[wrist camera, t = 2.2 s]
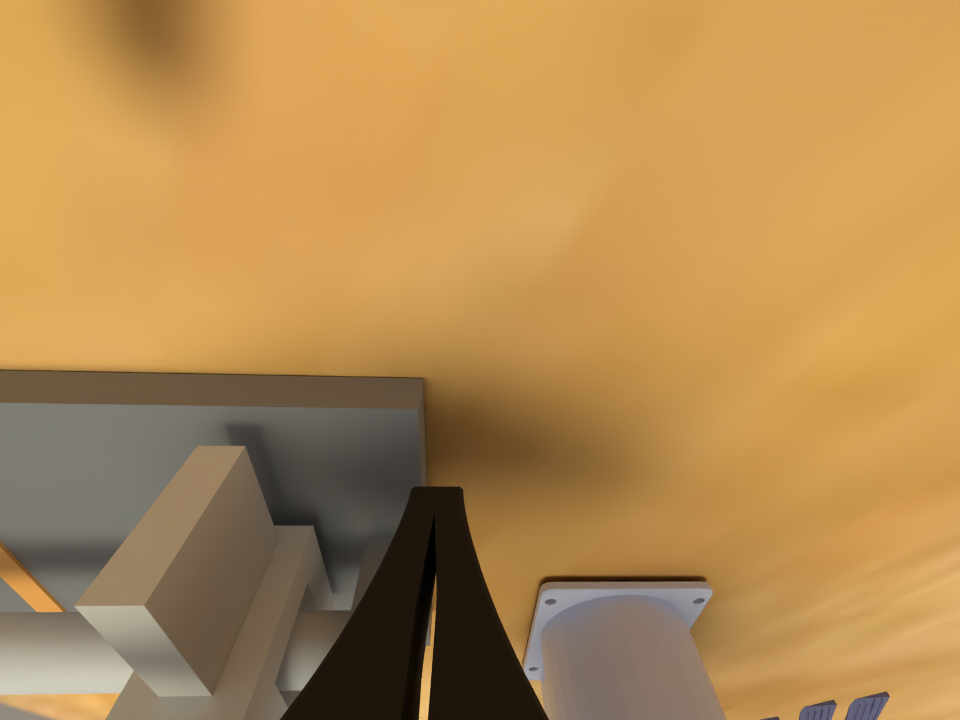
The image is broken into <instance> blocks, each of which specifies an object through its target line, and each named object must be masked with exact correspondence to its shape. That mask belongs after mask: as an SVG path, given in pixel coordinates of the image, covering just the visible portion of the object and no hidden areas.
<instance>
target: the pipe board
mask: <svg viewBox="0 0 960 720" xmlns="http://www.w3.org/2000/svg"><path fill="white" fill-rule="evenodd" d="M197 446H245V447H246V450H247V452H248V455H249V458H250V461H251V463H252V466H253V469H254V472H255V474H256V477H257V480H258V483H259V486H260V488H261V491H262V494H263V497H264V499H265V502H266V505H267V508H268V511H269V513H270V516H271V519H272V522H273V524H274V526H314V530H315V534H316V537H317V541H318V544H319V548H320V552H321V555H322V559H323V562H324V566H325V569H326V573H327V577H328V580H329V584H330V587H331V591H332V595H333V598H334V602H335V605H336V607H335V610H315V611H298V613H297V616H296V619H295V622H294V625H293V628H292V631H291V634H290V638H289V641H288V644H287V647H286V650H285V653H284V656H283V659H282V662H281V665H280V668H279V671H278V674H277V677H276V680H275V685H276V687H277V689H278V690H279V691H302V689H303V688H304V687H305V685H306V684H307V682H308V681H309V680H310V678H311V677H312V675H313V674H314V673H315V671H316V670H317V668H318V667H319V665H320V664H321V662H322V661H323V659H324V658H325V656H326V655H327V653H328V652H329V650H330V649H331V647H332V646H333V644H334V643H335V641H336V640H337V638H338V637H339V635H340V634H341V632H342V631H343V629H344V627H345V626H346V624H347V623H348V621H349V619H350V618H351V616H352V614H353V613H354V611H355V609H356V608H357V606H358V604H359V603H360V601H361V599H362V597H363V596H364V594H365V592H366V590H367V588H368V586H369V585H370V583H371V581H372V579H373V577H374V575H375V574H376V572H377V570H378V568H379V566H380V564H381V562H382V560H383V558H384V556H385V554H386V552H387V550H388V548H389V546H390V543H391V541H392V539H393V537H394V535H395V533H396V530H397V528H398V526H399V523H400V521H401V519H402V516H403V513H404V511H405V508H406V505H407V502H408V499H409V496H410V492H411V489H412V488H414V487H415V486H423V487H427V467H426V442H425V416H424V391H423V378H377V377H325V376H273V375H220V374H168V373H116V372H63V371H11V370H0V695H27V694H96V693H121V692H122V690H123V688H124V687H125V685H126V683H127V681H128V680H129V678H130V676H131V675H132V673H133V671H134V670H133V669H132V668H131V667H130V666H129V665H128V663H127V662H126V661H125V660H124V659H123V658H122V657H121V656H120V655H119V654H118V653H117V652H116V651H115V649H114V648H113V647H112V646H111V645H110V644H109V643H108V642H107V641H106V640H105V639H104V638H103V637H102V636H101V634H100V633H99V632H98V631H97V630H96V629H95V628H94V627H93V626H92V625H91V624H90V623H89V622H88V620H87V619H86V618H85V617H84V616H83V615H82V614H81V613H80V612H79V611H78V610H77V609H76V608H75V604H76V603H77V602H78V600H79V599H80V598H81V596H82V595H83V594H84V593H85V591H86V590H87V589H88V587H89V586H90V585H91V583H92V582H93V581H94V580H95V578H96V577H97V576H98V574H99V573H100V572H101V571H102V569H103V568H104V567H105V565H106V564H107V563H108V561H109V560H110V559H111V558H112V556H113V555H114V554H115V552H116V551H117V550H118V548H119V547H120V546H121V545H122V543H123V542H124V541H125V539H126V538H127V537H128V535H129V534H130V533H131V532H132V530H133V529H134V528H135V526H136V525H137V524H138V523H139V521H140V520H141V519H142V517H143V516H144V515H145V513H146V512H147V511H148V510H149V508H150V507H151V506H152V504H153V503H154V502H155V500H156V499H157V498H158V497H159V495H160V494H161V493H162V491H163V490H164V489H165V488H166V486H167V485H168V484H169V482H170V481H171V480H172V478H173V477H174V476H175V475H176V473H177V472H178V471H179V469H180V468H181V467H182V465H183V464H184V463H185V462H186V460H187V459H188V458H189V456H190V455H191V454H192V452H193V451H194V450H195V449H196V447H197ZM431 621H432V604H431V611H430V618H429V625H428V632H427V639H426V646H430V636H431Z"/></svg>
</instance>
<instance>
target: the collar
mask: <svg viewBox="0 0 960 720" xmlns="http://www.w3.org/2000/svg"><path fill="white" fill-rule="evenodd" d="M335 607H336V605H335V602H334V598H333V595H332V591H331V587H330V584H329V580H328V577H327V573H326V569H325V566H324V562H323V559H322V555H321V552H320V548H319V544H318V541H317V537H316V534H315V530H314V526H274V524H273V522H272V519H271V516H270V513H269V511H268V508H267V505H266V502H265V499H264V497H263V494H262V491H261V488H260V486H259V483H258V480H257V477H256V474H255V472H254V469H253V466H252V463H251V461H250V458H249V455H248V452H247V450H246V447H245V446H197V447H196V449H195V450H194V451H193V452H192V454H191V455H190V456H189V458H188V459H187V460H186V462H185V463H184V464H183V465H182V467H181V468H180V469H179V471H178V472H177V473H176V475H175V476H174V477H173V478H172V480H171V481H170V482H169V484H168V485H167V486H166V488H165V489H164V490H163V491H162V493H161V494H160V495H159V497H158V498H157V499H156V500H155V502H154V503H153V504H152V506H151V507H150V508H149V510H148V511H147V512H146V513H145V515H144V516H143V517H142V519H141V520H140V521H139V523H138V524H137V525H136V526H135V528H134V529H133V530H132V532H131V533H130V534H129V535H128V537H127V538H126V539H125V541H124V542H123V543H122V545H121V546H120V547H119V548H118V550H117V551H116V552H115V554H114V555H113V556H112V558H111V559H110V560H109V561H108V563H107V564H106V565H105V567H104V568H103V569H102V571H101V572H100V573H99V574H98V576H97V577H96V578H95V580H94V581H93V582H92V583H91V585H90V586H89V587H88V589H87V590H86V591H85V593H84V594H83V595H82V596H81V598H80V599H79V600H78V602H77V603H76V604H75V608H76V609H77V610H78V611H79V612H80V613H81V614H82V615H83V616H84V617H85V618H86V619H87V620H88V622H89V623H90V624H91V625H92V626H93V627H94V628H95V629H96V630H97V631H98V632H99V633H100V634H101V636H102V637H103V638H104V639H105V640H106V641H107V642H108V643H109V644H110V645H111V646H112V647H113V648H114V649H115V651H116V652H117V653H118V654H119V655H120V656H121V657H122V658H123V659H124V660H125V661H126V662H127V663H128V665H129V666H130V667H131V668H132V669H133V670H134V671H133V673H132V675H131V676H130V678H129V680H128V681H127V683H126V685H125V687H124V688H123V690H122V692H121V694H120V695H119V697H118V699H117V700H116V702H115V704H114V706H113V707H112V709H111V711H110V712H109V714H108V716H107V718H106V719H105V720H280V719H281V717H282V716H283V715H284V713H285V712H286V711H287V709H288V708H289V707H290V705H291V704H292V703H293V701H294V700H295V699H296V697H297V696H298V695H299V693H300V692H301V691H279V690H278V689H277V687H276V685H275V680H276V677H277V674H278V671H279V668H280V665H281V662H282V659H283V656H284V653H285V650H286V647H287V644H288V641H289V638H290V634H291V631H292V628H293V625H294V622H295V619H296V616H297V613H298V611H315V610H335Z"/></svg>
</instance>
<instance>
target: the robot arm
mask: <svg viewBox="0 0 960 720" xmlns="http://www.w3.org/2000/svg"><path fill="white" fill-rule="evenodd" d="M435 575H436V582H437V601H436V619H435V633H434V648H433V661H432V674H431V688H430V701H429V714H428V720H727V719H726V717H725V714H724V712H723V709H722V707H721V705H720V702H719V700H718V697H717V695H716V693H715V690H714V688H713V685H712V683H711V681H710V678H709V676H708V673H707V671H706V669H705V666H704V664H703V661H702V659H701V657H700V654H699V652H698V649H697V647H696V645H695V642H694V640H693V637H692V635H691V632H690V629H691V627H692V626H693V624H694V623H695V621H696V620H697V618H698V617H699V615H700V613H701V612H702V610H703V609H704V607H705V606H706V604H707V602H708V601H709V599H710V598H711V596H712V594H713V591H712V589H711V587H710V585H709V583H707V582H702V581H669V582H547V583H544V584H543V585H542V586H541V587H540V590H539V595H538V599H537V604H536V608H535V613H534V617H533V622H532V626H531V631H530V636H529V640H528V645H527V649H526V654H525V658H524V663H523V667H522V666H521V665H520V662H519V660H518V658H517V656H516V654H515V652H514V650H513V647H512V645H511V643H510V641H509V639H508V637H507V634H506V632H505V630H504V627H503V625H502V623H501V621H500V618H499V616H498V613H497V611H496V608H495V606H494V603H493V601H492V598H491V596H490V593H489V590H488V588H487V585H486V582H485V580H484V577H483V574H482V571H481V568H480V565H479V562H478V558H477V555H476V552H475V549H474V545H473V542H472V538H471V534H470V530H469V526H468V522H467V517H466V512H465V506H464V498H463V489H461V488H460V487H423V486H415V487H414V488H412V489H411V492H410V496H409V499H408V502H407V505H406V508H405V511H404V513H403V516H402V519H401V521H400V523H399V526H398V528H397V530H396V533H395V535H394V537H393V539H392V541H391V543H390V546H389V548H388V550H387V552H386V554H385V556H384V558H383V560H382V562H381V564H380V566H379V568H378V570H377V572H376V574H375V575H374V577H373V579H372V581H371V583H370V585H369V586H368V588H367V590H366V592H365V594H364V596H363V597H362V599H361V601H360V603H359V604H358V606H357V608H356V609H355V611H354V613H353V614H352V616H351V618H350V619H349V621H348V623H347V624H346V626H345V627H344V629H343V631H342V632H341V634H340V635H339V637H338V638H337V640H336V641H335V643H334V644H333V646H332V647H331V649H330V650H329V652H328V653H327V655H326V656H325V658H324V659H323V661H322V662H321V664H320V665H319V667H318V668H317V670H316V671H315V673H314V674H313V675H312V677H311V678H310V680H309V681H308V682H307V684H306V685H305V687H304V688H303V689H302V691H301V692H300V693H299V695H298V696H297V697H296V699H295V700H294V701H293V703H292V704H291V705H290V707H289V708H288V709H287V711H286V712H285V713H284V715H283V716H282V717H281V719H280V720H419V707H420V693H421V678H422V669H423V660H424V653H425V646H426V639H427V632H428V625H429V618H430V611H431V604H432V597H433V590H434V582H435ZM529 680H541V688H542V696H543V703H544V709H543V707H542V705H541V704H540V702H539V700H538V698H537V696H536V694H535V692H534V690H533V688H532V686H531V684H530V682H529Z"/></svg>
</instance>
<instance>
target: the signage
mask: <svg viewBox="0 0 960 720" xmlns="http://www.w3.org/2000/svg"><path fill="white" fill-rule="evenodd" d="M889 697H890V696H889V695H888V693H887V692H883V693H879V694H875V695H870V696H866V697H862V698H858V699H855V700H854V701H853V702H852V703H851V704H850V706H849V709H848V712H847V715H846V718H845V720H877V718H878V716H879V715H880V713H881V711H882V709H883V708H884V706H885V704H886V702H887V701H888V699H889ZM836 705H837V704H836V703H835V701H834V700H831V701H827V702H823V703H819V704H815V705H811V706H807V707H804V708H803V709H802V711H801V712H800V716H799V720H831V719H832V716H833V713H834V711H835V708H836ZM761 720H779V718H778V717H773V718H767V719H761Z"/></svg>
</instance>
